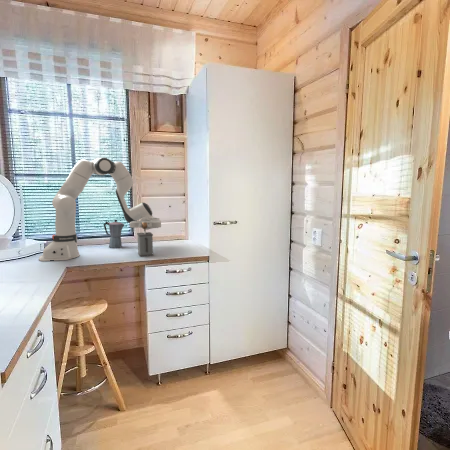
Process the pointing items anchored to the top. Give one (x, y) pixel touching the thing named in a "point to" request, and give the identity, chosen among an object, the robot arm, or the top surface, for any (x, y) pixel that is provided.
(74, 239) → the robot arm
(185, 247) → the top surface
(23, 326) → the top surface
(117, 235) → the moka pot
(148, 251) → the press
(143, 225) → the plunger
